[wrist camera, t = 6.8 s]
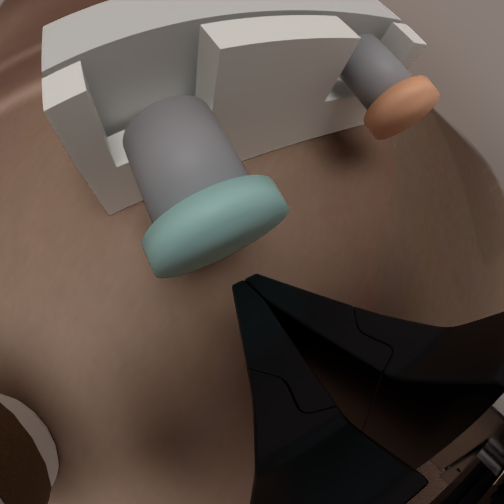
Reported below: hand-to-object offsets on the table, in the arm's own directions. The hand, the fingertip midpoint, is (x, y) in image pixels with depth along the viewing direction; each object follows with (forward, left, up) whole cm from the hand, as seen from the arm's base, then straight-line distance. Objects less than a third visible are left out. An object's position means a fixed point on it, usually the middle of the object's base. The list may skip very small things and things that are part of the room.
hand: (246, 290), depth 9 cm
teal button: (+3, -3, -3) cm, 5 cm away
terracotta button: (-4, -13, -3) cm, 14 cm away
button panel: (+4, -12, -7) cm, 15 cm away
